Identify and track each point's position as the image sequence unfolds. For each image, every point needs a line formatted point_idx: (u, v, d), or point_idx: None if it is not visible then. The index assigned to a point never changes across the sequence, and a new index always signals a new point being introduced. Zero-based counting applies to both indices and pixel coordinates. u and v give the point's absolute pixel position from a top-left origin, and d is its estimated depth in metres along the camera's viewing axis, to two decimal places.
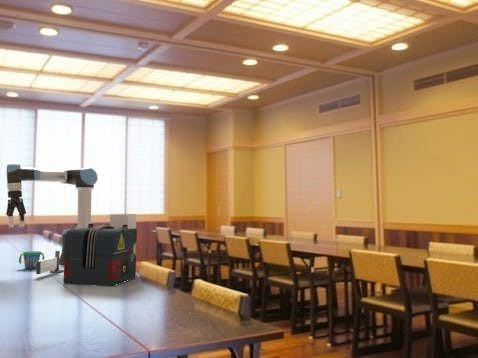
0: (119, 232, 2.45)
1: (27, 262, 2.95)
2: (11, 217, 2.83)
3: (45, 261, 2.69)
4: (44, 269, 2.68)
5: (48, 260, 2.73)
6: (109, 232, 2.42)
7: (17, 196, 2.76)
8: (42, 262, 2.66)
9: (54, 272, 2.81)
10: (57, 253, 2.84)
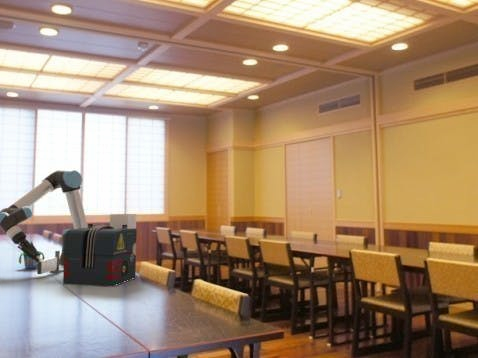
0: (119, 232, 2.44)
1: (27, 262, 2.95)
2: None
3: (46, 261, 2.69)
4: (45, 269, 2.68)
5: (49, 260, 2.72)
6: (109, 232, 2.42)
7: (16, 240, 2.70)
8: (43, 262, 2.65)
9: (54, 272, 2.81)
10: (57, 253, 2.84)
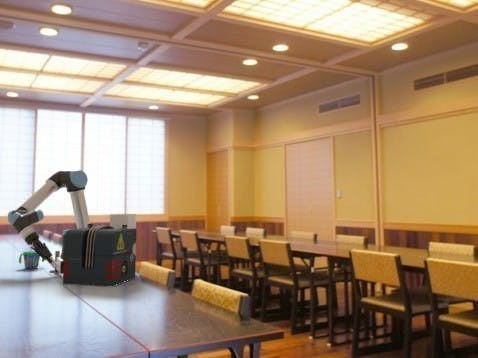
0: (119, 232, 2.44)
1: (27, 262, 2.95)
2: None
3: None
4: None
5: None
6: (108, 232, 2.42)
7: (30, 241, 2.69)
8: None
9: (54, 272, 2.81)
10: (57, 253, 2.84)
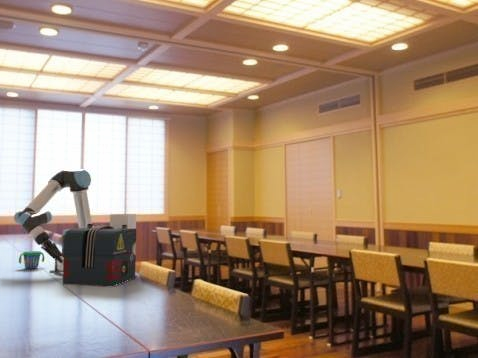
0: (118, 232, 2.44)
1: (27, 262, 2.95)
2: None
3: None
4: None
5: None
6: (108, 232, 2.42)
7: (40, 241, 2.69)
8: None
9: (54, 272, 2.81)
10: None
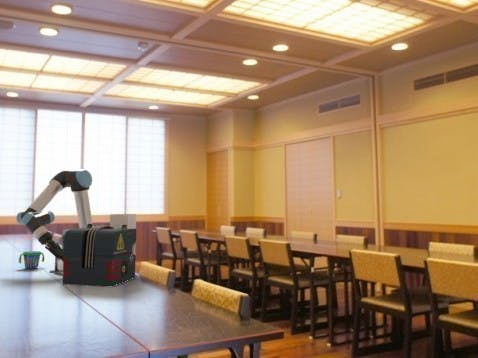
0: (118, 232, 2.44)
1: (27, 262, 2.95)
2: None
3: None
4: None
5: None
6: (108, 232, 2.42)
7: (43, 241, 2.69)
8: None
9: (54, 272, 2.81)
10: None
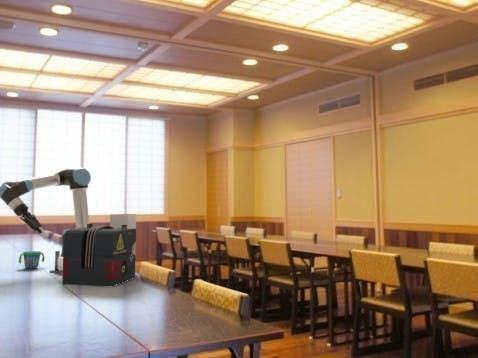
0: (118, 232, 2.44)
1: (27, 262, 2.95)
2: None
3: None
4: None
5: None
6: (108, 232, 2.41)
7: (19, 212, 2.71)
8: None
9: (54, 272, 2.81)
10: (57, 253, 2.84)
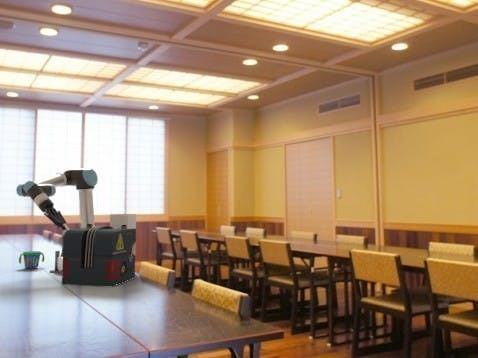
0: (118, 232, 2.43)
1: (27, 262, 2.95)
2: None
3: None
4: None
5: None
6: (108, 232, 2.41)
7: (43, 208, 2.65)
8: None
9: (54, 272, 2.81)
10: (57, 253, 2.84)
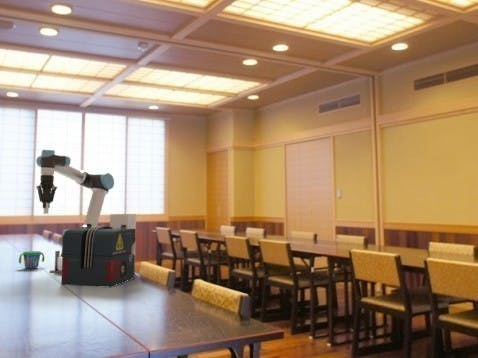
0: (117, 232, 2.43)
1: (27, 262, 2.95)
2: None
3: None
4: None
5: None
6: (107, 232, 2.41)
7: (41, 180, 2.89)
8: None
9: (54, 272, 2.81)
10: (57, 253, 2.84)
